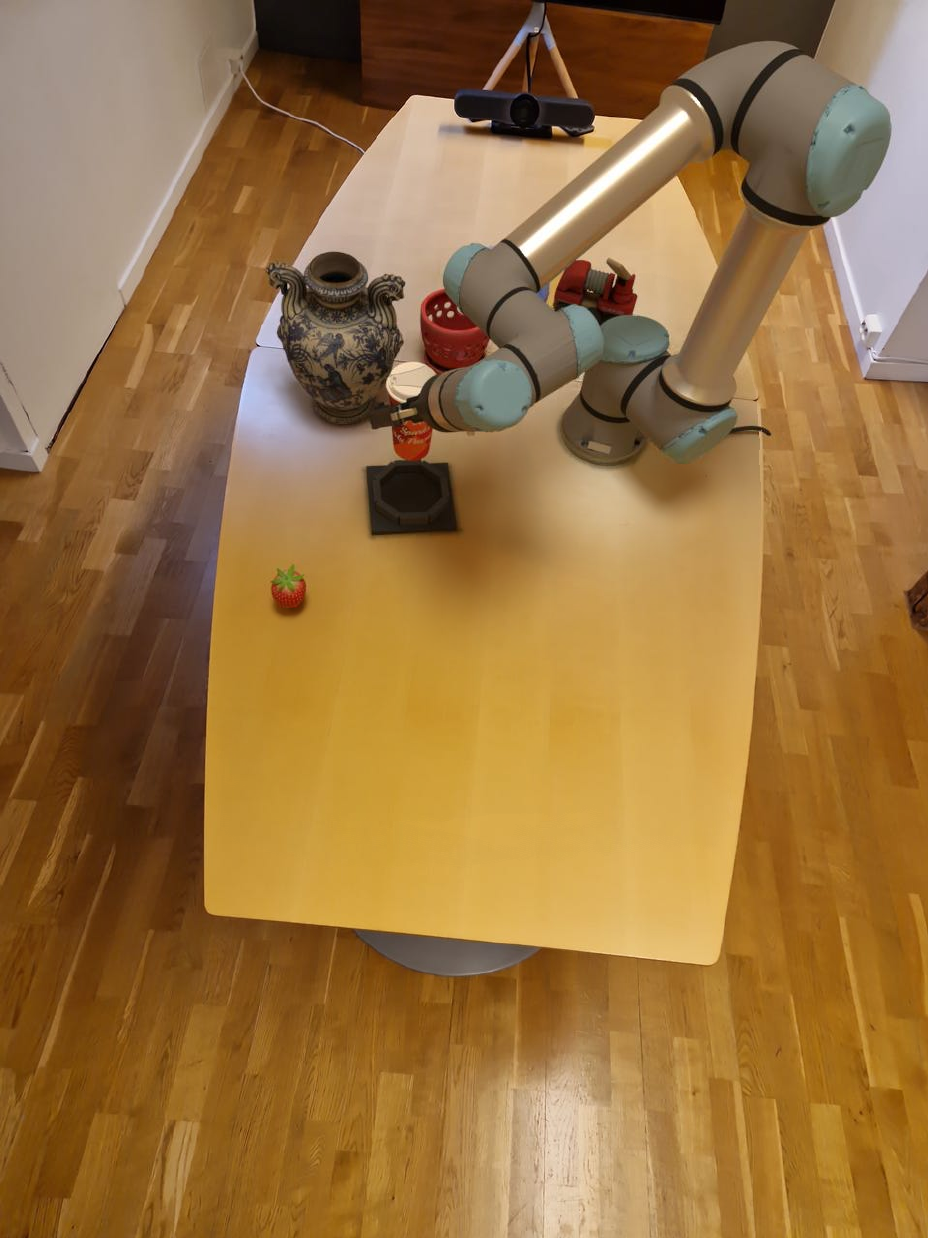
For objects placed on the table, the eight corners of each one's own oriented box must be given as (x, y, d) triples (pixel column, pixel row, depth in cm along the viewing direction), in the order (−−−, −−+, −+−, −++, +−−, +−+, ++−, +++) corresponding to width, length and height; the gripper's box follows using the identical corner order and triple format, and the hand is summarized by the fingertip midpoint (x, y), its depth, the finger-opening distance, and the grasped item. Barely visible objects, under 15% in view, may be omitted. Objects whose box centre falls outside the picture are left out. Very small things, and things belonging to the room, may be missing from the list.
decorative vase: (406, 371, 153) (409, 234, 129) (399, 445, 143) (401, 312, 119) (292, 362, 152) (273, 222, 128) (277, 436, 142) (253, 300, 118)
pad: (447, 466, 141) (448, 454, 139) (456, 530, 134) (458, 519, 132) (366, 469, 140) (365, 457, 137) (371, 535, 133) (371, 524, 130)
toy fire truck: (560, 294, 167) (576, 213, 152) (632, 316, 166) (656, 236, 150) (543, 328, 162) (559, 248, 146) (618, 351, 160) (642, 272, 145)
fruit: (310, 615, 124) (305, 587, 117) (275, 619, 123) (268, 591, 116) (307, 586, 127) (302, 556, 120) (273, 590, 126) (266, 560, 119)
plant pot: (500, 356, 157) (507, 303, 146) (463, 395, 150) (468, 343, 140) (443, 328, 159) (446, 274, 149) (405, 365, 153) (405, 312, 143)
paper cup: (390, 468, 124) (390, 400, 112) (383, 431, 127) (382, 361, 115) (441, 463, 125) (446, 395, 113) (432, 426, 129) (436, 357, 117)
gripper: (386, 453, 101) (346, 451, 122) (534, 410, 106) (471, 415, 127) (369, 392, 98) (331, 401, 119) (521, 351, 104) (459, 366, 125)
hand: (404, 408), depth 123 cm, fingers closed on paper cup, 8 cm apart
